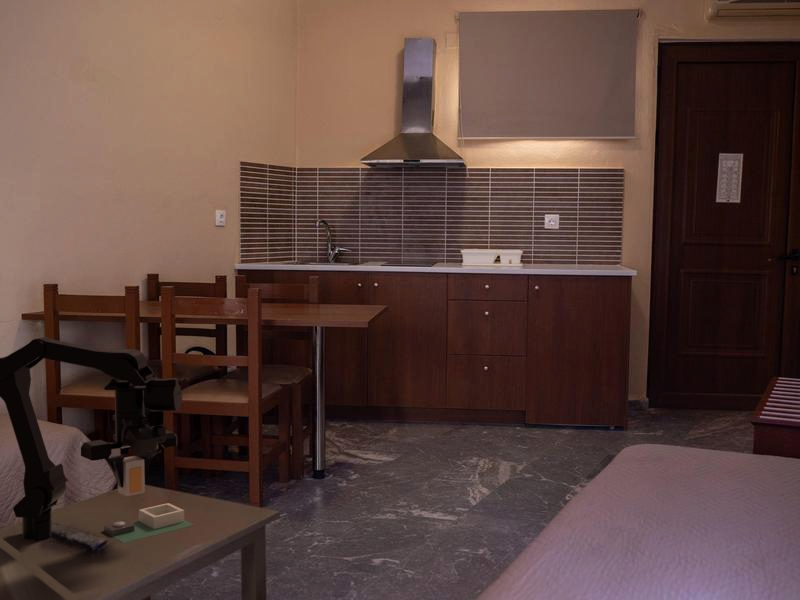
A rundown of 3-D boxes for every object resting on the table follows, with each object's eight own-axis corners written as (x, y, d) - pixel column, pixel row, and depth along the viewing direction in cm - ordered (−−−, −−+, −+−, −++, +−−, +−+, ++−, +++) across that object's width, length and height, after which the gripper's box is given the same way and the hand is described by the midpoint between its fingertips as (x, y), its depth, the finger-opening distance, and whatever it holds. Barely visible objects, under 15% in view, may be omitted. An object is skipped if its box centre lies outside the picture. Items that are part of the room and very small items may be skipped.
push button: (104, 530, 171) (103, 523, 171) (124, 525, 174) (124, 518, 174) (113, 536, 167) (113, 528, 167) (134, 530, 171) (134, 523, 171)
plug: (117, 492, 167) (117, 459, 167) (136, 488, 170) (135, 455, 170) (127, 496, 164) (126, 463, 164) (145, 492, 167) (144, 459, 167)
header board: (101, 534, 171) (101, 518, 171) (170, 517, 182) (170, 502, 182) (123, 547, 164) (123, 530, 163) (194, 529, 175) (193, 513, 175)
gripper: (102, 423, 154) (104, 503, 155) (189, 410, 167) (190, 484, 168) (78, 415, 162) (80, 491, 163) (164, 403, 175) (165, 473, 176)
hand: (131, 485), depth 167 cm, fingers closed on plug, 4 cm apart
